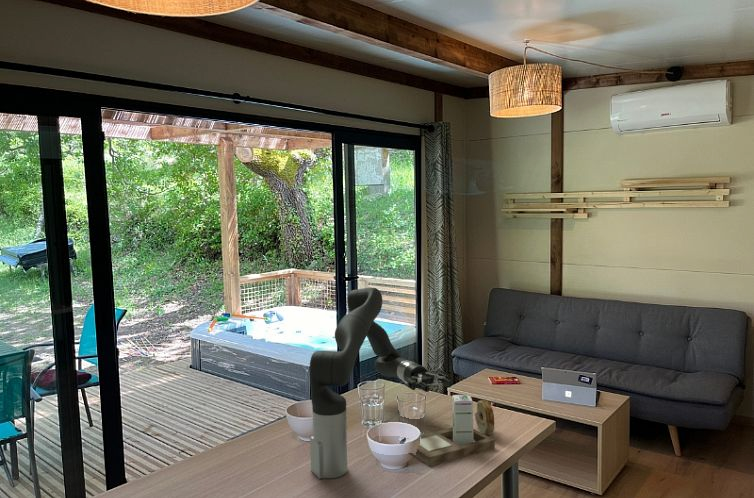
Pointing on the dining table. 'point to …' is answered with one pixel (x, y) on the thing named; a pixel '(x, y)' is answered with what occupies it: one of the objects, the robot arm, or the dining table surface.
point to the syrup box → (462, 419)
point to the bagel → (484, 417)
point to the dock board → (450, 446)
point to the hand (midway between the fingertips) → (439, 386)
